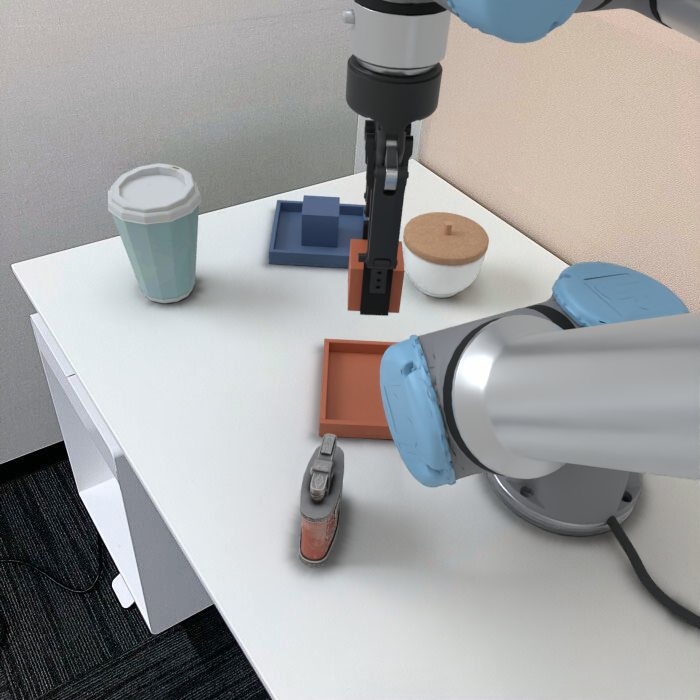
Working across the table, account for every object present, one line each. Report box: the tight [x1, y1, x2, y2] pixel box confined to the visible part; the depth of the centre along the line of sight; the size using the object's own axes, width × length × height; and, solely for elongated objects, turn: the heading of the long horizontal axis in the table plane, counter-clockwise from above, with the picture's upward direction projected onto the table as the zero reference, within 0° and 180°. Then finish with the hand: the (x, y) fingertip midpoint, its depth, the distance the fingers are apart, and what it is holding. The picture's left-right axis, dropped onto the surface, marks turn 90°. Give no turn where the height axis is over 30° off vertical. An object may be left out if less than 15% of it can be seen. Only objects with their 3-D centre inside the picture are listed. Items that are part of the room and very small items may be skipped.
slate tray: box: [268, 199, 369, 269], centre depth 103 cm, size 13×13×2 cm
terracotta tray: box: [318, 338, 400, 440], centre depth 81 cm, size 13×13×2 cm
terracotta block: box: [347, 239, 406, 314], centre depth 72 cm, size 5×5×5 cm
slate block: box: [301, 194, 341, 247], centre depth 102 cm, size 5×5×5 cm
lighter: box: [298, 434, 345, 568], centre depth 65 cm, size 8×3×10 cm, turn 170°
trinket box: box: [402, 211, 490, 299], centre depth 95 cm, size 11×11×9 cm
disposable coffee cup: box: [107, 162, 202, 304], centre depth 89 cm, size 11×11×15 cm
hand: (373, 294), depth 73 cm, fingers closed on terracotta block, 5 cm apart
